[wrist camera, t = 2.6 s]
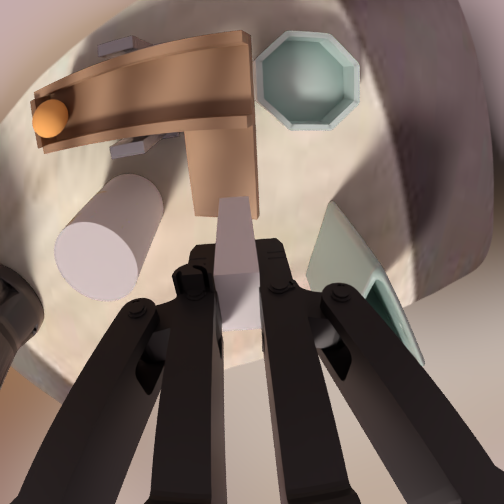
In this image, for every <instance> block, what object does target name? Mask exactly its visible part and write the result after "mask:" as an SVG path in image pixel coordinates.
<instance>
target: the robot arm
mask: <svg viewBox="0 0 504 504" xmlns="http://www.w3.org/2000/svg"><path fill="white" fill-rule="evenodd" d="M172 278H173V282H174V286H175V290H176V294H177V297H176V298H175V299H173V300H172V301H169V302H167V303H163V304H160V305H156V306H155V303H154V302H153V301H152V300H150V299H147V298H138V299H134V300H131V301H130V302H128V303H126V304H125V305H124V306H123V307H122V309H121V310H120V312H119V313H118V315H117V316H116V318H115V319H114V321H113V322H112V324H111V325H110V327H109V328H108V330H107V331H106V333H105V334H104V336H103V338H102V339H101V341H100V342H99V344H98V345H97V347H96V349H95V350H94V352H93V353H92V355H91V357H90V358H89V360H88V361H87V363H86V365H85V366H84V368H83V370H82V371H81V373H80V375H79V376H78V378H77V380H76V382H75V383H74V385H73V387H72V388H71V390H70V392H69V394H68V395H67V397H66V399H65V401H64V403H63V404H62V407H61V408H60V410H59V412H58V413H57V415H56V417H55V419H54V421H53V423H52V425H51V427H50V428H49V430H48V433H47V434H46V436H45V438H44V440H43V442H42V444H41V447H40V448H39V450H38V452H37V454H36V457H35V459H34V461H33V463H32V465H31V467H30V469H29V471H28V474H27V476H26V478H25V480H24V483H23V485H22V487H21V490H20V492H19V494H18V496H17V497H16V498H15V499H14V500H13V501H12V502H11V503H10V504H115V502H116V500H117V497H118V495H119V492H120V489H121V487H122V484H123V481H124V479H125V476H126V474H127V471H128V469H129V466H130V463H131V461H132V458H133V456H134V453H135V451H136V448H137V446H138V443H139V441H140V438H141V436H142V433H143V431H144V429H145V426H146V424H147V421H148V419H149V416H150V414H151V411H152V409H153V407H154V404H155V402H156V399H157V397H158V395H159V392H160V390H161V393H160V401H159V408H158V416H157V425H156V434H155V444H154V455H153V467H152V479H151V492H150V496H149V499H148V500H147V501H146V502H145V503H144V504H227V489H226V466H225V465H226V464H225V433H224V432H225V431H224V361H223V337H222V330H223V331H237V330H251V329H262V351H263V352H264V361H265V370H266V378H267V387H268V396H269V404H270V413H271V422H272V431H273V440H274V448H275V457H276V466H277V474H278V483H279V492H280V500H281V504H361V502H360V499H359V497H358V495H357V493H356V492H355V491H354V490H353V489H352V488H351V486H350V484H349V480H348V476H347V471H346V467H345V462H344V458H343V453H342V449H341V445H340V440H339V437H338V432H337V428H336V423H335V420H334V415H333V411H332V408H331V403H330V399H329V396H328V392H327V387H326V383H325V380H324V376H323V372H322V368H321V364H320V360H319V357H320V358H321V360H322V362H323V363H324V365H325V367H326V368H327V370H328V372H329V373H330V375H331V377H332V378H333V380H334V382H335V383H336V385H337V387H338V388H339V390H340V392H341V393H342V395H343V397H344V398H345V400H346V402H347V403H348V405H349V407H350V408H351V410H352V412H353V413H354V415H355V416H356V418H357V420H358V422H359V423H360V425H361V427H362V428H363V430H364V432H365V433H366V435H367V437H368V438H369V440H370V442H371V443H372V445H373V447H374V449H375V450H376V452H377V454H378V455H379V457H380V458H381V460H382V462H383V463H384V465H385V467H386V469H387V470H388V472H389V474H390V475H391V477H392V479H393V480H394V482H395V484H396V485H397V487H398V489H399V491H400V492H401V494H402V495H403V497H404V499H405V501H406V502H407V504H504V471H502V470H501V469H499V468H498V467H496V466H495V465H494V464H493V462H492V461H491V459H490V458H489V456H488V455H487V453H486V452H485V450H484V449H483V447H482V446H481V444H480V443H479V442H478V440H477V439H476V437H475V436H474V435H473V433H472V432H471V430H470V429H469V427H468V426H467V425H466V423H465V422H464V421H463V419H462V418H461V417H460V415H459V414H458V412H457V411H456V410H455V409H454V407H453V406H452V404H451V403H450V402H449V400H448V399H447V398H446V397H445V395H444V394H443V393H442V391H441V390H440V389H439V387H438V386H437V385H436V384H435V382H434V381H433V380H432V379H431V377H430V376H429V375H428V374H427V372H426V371H425V370H424V368H423V367H422V366H421V365H420V363H419V362H418V361H417V360H416V358H415V357H414V356H413V355H412V354H411V352H410V351H409V350H408V349H407V347H406V346H405V345H404V344H403V343H402V341H401V340H400V339H399V338H398V337H397V335H396V334H395V333H394V332H393V331H392V330H391V328H390V327H389V326H388V325H387V324H386V322H385V321H384V320H383V319H382V318H381V317H380V315H379V314H378V313H377V312H376V311H375V310H374V309H373V307H372V306H371V305H370V304H369V303H368V302H367V301H366V299H365V298H364V297H363V296H362V295H361V294H360V293H359V292H358V290H357V289H355V288H354V287H353V286H351V285H348V284H346V283H331V284H329V285H327V286H325V288H324V289H323V290H322V292H315V291H309V290H305V289H303V288H301V287H299V285H298V284H297V282H296V281H295V280H293V278H292V275H291V271H290V268H289V264H288V261H287V258H286V254H285V250H284V247H283V244H282V243H281V242H280V241H279V240H278V239H277V238H271V239H257V240H255V238H254V231H253V224H252V217H251V210H250V203H249V196H242V197H229V198H220V200H219V211H218V222H217V234H216V243H215V244H203V245H196V246H195V247H194V248H193V249H192V251H191V252H190V257H189V262H188V264H185V265H183V266H181V267H179V268H178V269H176V270H175V271H174V273H173V275H172ZM43 320H44V313H43V308H42V305H41V303H40V301H39V299H38V297H37V295H36V294H35V292H34V291H33V289H32V288H31V287H30V286H29V285H28V283H27V282H26V281H25V280H24V279H23V278H22V277H21V276H19V275H18V274H17V273H16V272H14V271H13V270H11V269H9V268H8V267H6V266H3V265H0V389H1V387H2V384H3V382H4V379H5V377H6V375H7V372H8V370H9V368H10V366H11V363H12V361H13V359H14V357H15V355H16V353H17V351H18V349H19V348H20V347H21V346H23V345H24V344H25V343H26V342H27V341H28V340H29V339H30V338H32V337H33V336H34V335H35V334H36V333H37V332H38V330H39V328H40V327H41V325H42V323H43ZM318 355H319V357H318Z"/></svg>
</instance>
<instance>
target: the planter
mask: <svg viewBox="0 0 504 504" xmlns="http://www.w3.org/2000/svg"><path fill="white" fill-rule="evenodd" d="M306 277H307V280H308V282H309V285H310V288H311V291H315V292H322V290H323V289H324V288H325V286H327V285H329V284H331V283H346V284H348V285H351V286H353V287H354V288H355V289H357V290H358V292H359V293H360V294H361V295H362V296H363V297H364V298H365V299H366V301H367V302H368V303H369V304H370V305H371V306H372V307H373V309H374V310H375V311H376V312H377V313H378V314H379V315H380V317H381V318H382V319H383V320H384V321H385V322H386V324H387V325H388V326H389V327H390V328H391V330H392V331H393V332H394V333H395V334H396V335H397V337H398V338H399V339H400V340H401V341H402V343H403V344H404V345H405V346H406V347H407V349H408V350H409V351H410V352H411V354H412V355H413V356H414V357H415V358H416V360H417V361H418V362H419V363H420V365H421V366H424V365H425V361H424V358H423V355H422V353H421V351H420V348H419V346H418V343H417V341H416V338H415V336H414V333H413V331H412V329H411V327H410V324H409V322H408V320H407V317H406V315H405V313H404V310H403V308H402V306H401V304H400V301H399V299H398V297H397V295H396V293H395V291H394V289H393V287H392V285H391V283H390V281H389V279H388V277H387V275H386V273H385V271H384V269H383V267H382V265H381V264H380V262H379V261H378V259H377V258H376V257H375V255H374V254H373V252H372V251H371V249H370V248H369V247H368V245H367V244H366V243H365V241H364V240H363V239H362V237H361V236H360V234H359V233H358V232H357V230H356V229H355V228H354V227H353V225H352V224H351V223H350V221H349V220H348V219H347V217H346V216H345V215H344V214H343V212H342V211H341V210H340V208H339V207H338V206H337V205H336V203H335V202H334V201H330V203H329V204H328V206H327V210H326V213H325V216H324V220H323V223H322V226H321V229H320V232H319V235H318V238H317V241H316V244H315V247H314V250H313V253H312V256H311V259H310V262H309V266H308V269H307V273H306Z"/></svg>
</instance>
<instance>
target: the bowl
mask: <svg viewBox="0 0 504 504" xmlns="http://www.w3.org/2000/svg"><path fill="white" fill-rule="evenodd" d="M358 64H359V63H358V62H357V61H356V60H355V59H354V58H353V57H352V55H351V54H350V53H349V52H348V51H347V50H346V49H345V48H344V47H343V46H342V45H341V44H340V43H339V42H338V41H337V40H336V39H335V38H334V37H333V36H332V35H331V34H330V35H329V33H320V32H307V31H285V32H284V33H283V34H282V35H281V36H280V37H279V38H277V39H276V40H275V41H274V42H273V43H272V44H271V45H270V46H269V47H268V48H266V49H265V50H264V51H263V52H262V53H261V54H260V55H259V56H258V57H257V58H256V59H255V60H254V61H253V63H252V66H253V85H254V99H255V101H256V102H257V103H259V104H260V105H261V106H262V107H263V108H264V109H266V110H267V111H268V112H269V113H270V114H271V115H272V116H273V117H275V118H276V119H277V120H278V121H279V122H280V123H281V124H282V125H284V126H285V127H286V128H287V129H289V130H291V131H296V130H323V131H331V130H333V129H334V128H335V127H336V126H337V125H338V124H339V123H340V122H341V121H342V120H343V119H344V118H345V117H346V116H347V115H348V114H349V113H350V112H351V111H352V110H353V109H354V108H356V107H357V106H358V105H359V103H360V65H358Z"/></svg>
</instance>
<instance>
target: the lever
mask: <svg viewBox="0 0 504 504" xmlns="http://www.w3.org/2000/svg"><path fill="white" fill-rule="evenodd" d="M34 96H35V99H34V100H32V101H30V103H31V110H32V117H33V115H34V113H35V111H36V109H37V108H38V106H39V105H40V104H42V103H43V102H45V101H47V100H51V99H56V100H59V101H61V102H63V103H64V104H65V106H66V107H67V110H68V121H67V124H66V126H65V128H64V129H63V130H62V131H61V132H60V133H59V134H58V135H56V136H54V137H50V138H45V137H41V136H39V135H38V134H37V133H36V132H35V135H36V140H37V145H38V148H41V147H43V151H44V154H47V153H51V152H55V151H59V150H64V149H68V148H73V147H78V146H82V145H88V144H93V143H98V142H104V141H110V140H116V139H123V138H130V137H137V136H145V135H153V134H162V133H172V132H183V131H184V135H185V144H186V152H187V160H188V168H189V176H190V183H191V190H192V198H193V205H194V211H195V216H205V217H218V211H219V200H220V198H229V197H242V196H249V203H250V210H251V217H252V219H256V220H257V219H258V217H259V191H258V168H257V146H256V125H255V105H254V85H253V66H252V48H251V35H249V34H248V33H246V32H244V31H242V30H239V31H230V32H222V33H215V34H209V35H202V36H197V37H191V38H186V39H181V40H177V41H172V42H168V43H163V44H159V45H155V46H152V47H148V48H144V49H141V50H137V51H134V52H130V53H127V54H124V55H121V56H118V57H115V58H112V59H109V60H106V61H104V62H101V63H98V64H95V65H93V66H90V67H88V68H85V69H83V70H80V71H78V72H76V73H73V74H71V75H69V76H66V77H64V78H62V79H60V80H58V81H56V82H54V83H51V84H49V85H47V86H45V87H43V88H41V89H39V90H38V91H36V92H34Z"/></svg>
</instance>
